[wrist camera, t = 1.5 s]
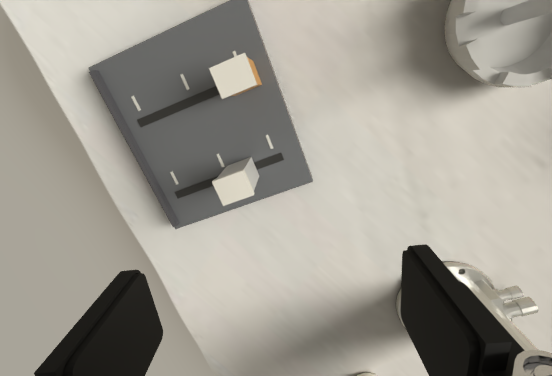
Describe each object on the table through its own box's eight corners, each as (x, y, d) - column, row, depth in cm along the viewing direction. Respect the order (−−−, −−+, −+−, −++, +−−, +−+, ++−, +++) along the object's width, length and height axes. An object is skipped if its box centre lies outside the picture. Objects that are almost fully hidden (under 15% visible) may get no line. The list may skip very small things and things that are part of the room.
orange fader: (253, 59, 29) (244, 52, 23) (263, 85, 30) (256, 84, 24) (225, 72, 30) (208, 68, 24) (235, 96, 31) (222, 99, 25)
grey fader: (251, 155, 33) (242, 170, 27) (260, 176, 33) (253, 195, 27) (226, 165, 33) (211, 181, 27) (235, 185, 34) (223, 206, 28)
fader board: (247, -1, 30) (243, -10, 27) (311, 176, 35) (313, 183, 33) (100, 69, 32) (83, 67, 30) (181, 222, 38) (173, 232, 36)
